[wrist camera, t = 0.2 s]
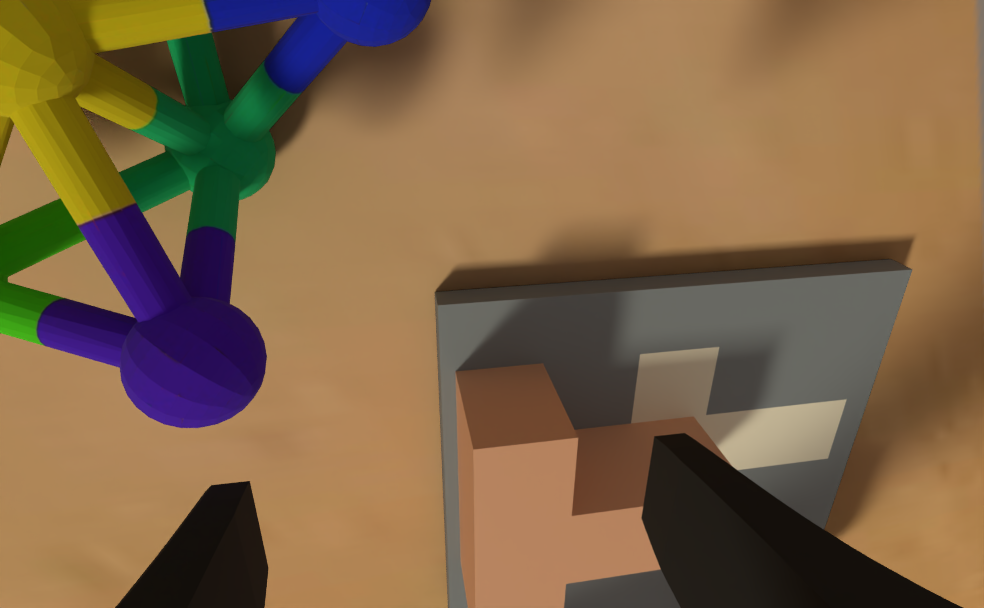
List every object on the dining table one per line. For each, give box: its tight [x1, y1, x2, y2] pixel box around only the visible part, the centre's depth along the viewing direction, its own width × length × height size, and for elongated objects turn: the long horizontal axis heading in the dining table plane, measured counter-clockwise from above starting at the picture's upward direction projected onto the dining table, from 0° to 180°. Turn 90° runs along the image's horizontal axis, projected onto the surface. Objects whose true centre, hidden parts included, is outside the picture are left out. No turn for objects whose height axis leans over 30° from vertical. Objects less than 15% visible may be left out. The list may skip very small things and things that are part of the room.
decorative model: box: [0, 0, 431, 428], centre depth 12 cm, size 13×9×15 cm
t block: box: [455, 363, 733, 608], centre depth 21 cm, size 9×9×4 cm
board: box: [435, 259, 912, 608], centre depth 25 cm, size 18×17×1 cm
